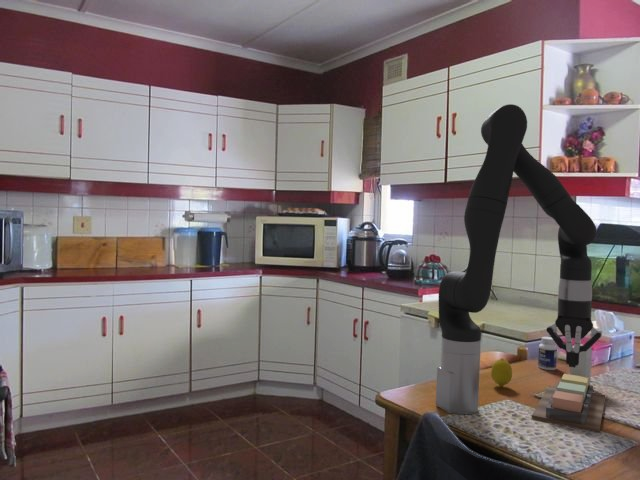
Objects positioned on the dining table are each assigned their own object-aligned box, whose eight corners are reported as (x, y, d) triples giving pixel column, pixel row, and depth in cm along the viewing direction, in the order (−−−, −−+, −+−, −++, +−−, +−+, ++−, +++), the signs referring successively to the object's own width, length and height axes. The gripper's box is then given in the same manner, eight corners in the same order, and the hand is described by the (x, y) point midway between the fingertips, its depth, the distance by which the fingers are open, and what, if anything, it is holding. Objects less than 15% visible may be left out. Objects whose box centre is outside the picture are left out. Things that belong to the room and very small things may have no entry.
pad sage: (583, 404, 128) (584, 391, 128) (556, 399, 131) (557, 387, 131) (585, 397, 133) (586, 385, 133) (559, 393, 136) (559, 381, 136)
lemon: (507, 391, 144) (509, 362, 144) (487, 386, 147) (488, 358, 147) (514, 386, 148) (515, 358, 148) (494, 382, 152) (495, 354, 151)
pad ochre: (586, 394, 136) (586, 382, 135) (560, 390, 139) (561, 378, 138) (588, 388, 141) (588, 377, 141) (563, 384, 144) (563, 373, 144)
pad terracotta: (580, 415, 120) (581, 402, 120) (551, 409, 123) (552, 397, 123) (582, 407, 125) (583, 395, 125) (555, 402, 128) (555, 390, 128)
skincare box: (574, 384, 152) (575, 343, 152) (590, 387, 149) (592, 345, 149) (568, 389, 147) (570, 346, 147) (585, 392, 145) (587, 349, 144)
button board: (599, 432, 116) (599, 418, 116) (531, 418, 123) (532, 405, 123) (605, 398, 140) (605, 386, 140) (548, 388, 148) (548, 377, 147)
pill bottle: (535, 368, 169) (537, 337, 169) (540, 364, 173) (541, 335, 173) (553, 371, 166) (555, 340, 165) (558, 368, 170) (559, 337, 170)
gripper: (544, 297, 131) (541, 366, 132) (604, 301, 125) (601, 374, 125) (547, 293, 138) (545, 359, 139) (605, 298, 131) (603, 367, 132)
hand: (572, 366), depth 132 cm, fingers closed
